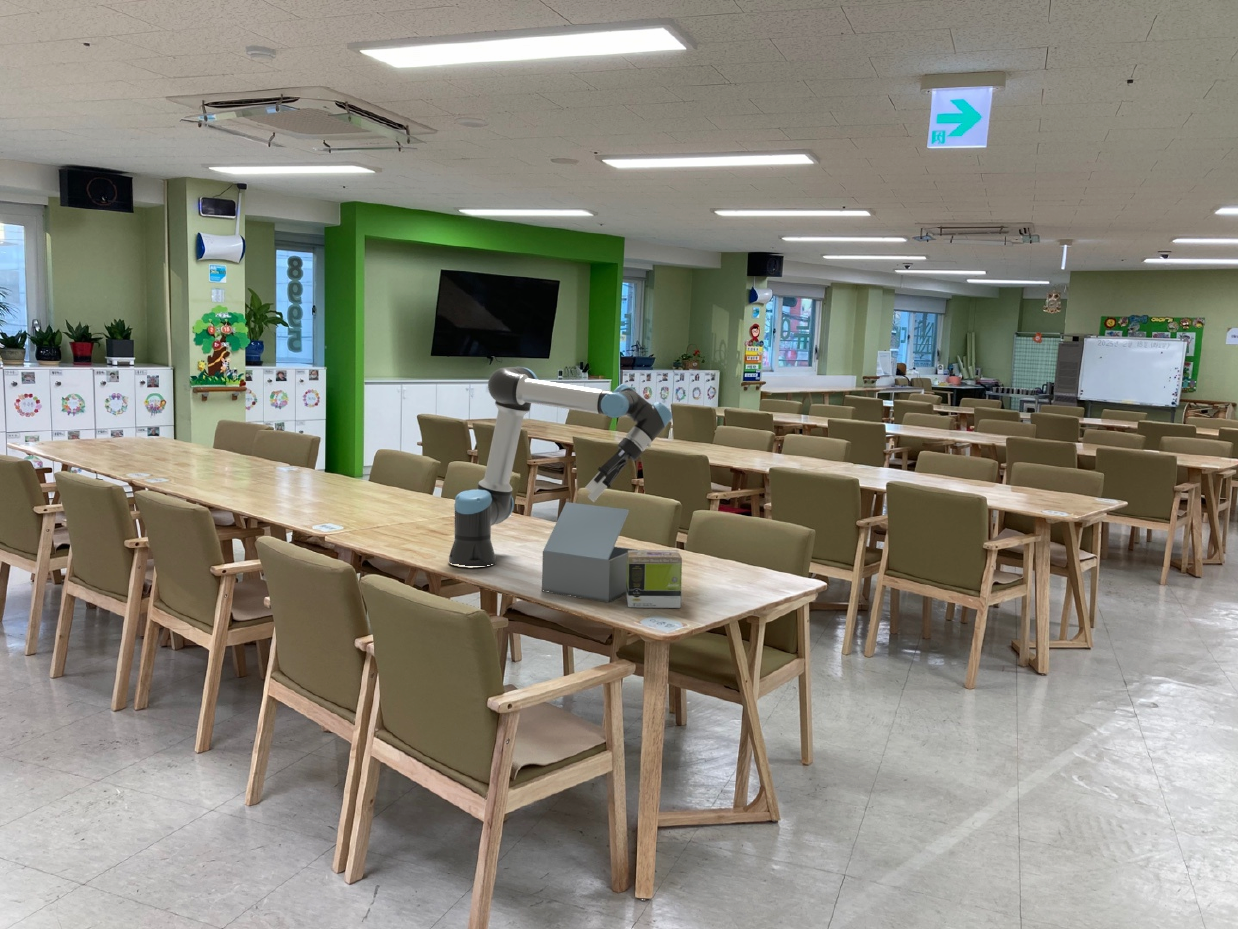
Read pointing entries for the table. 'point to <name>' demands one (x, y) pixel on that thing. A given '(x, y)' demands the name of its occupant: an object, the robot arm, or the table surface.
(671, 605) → the tea box
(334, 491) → the table surface
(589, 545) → the lid
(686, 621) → the table surface
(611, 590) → the storage box
